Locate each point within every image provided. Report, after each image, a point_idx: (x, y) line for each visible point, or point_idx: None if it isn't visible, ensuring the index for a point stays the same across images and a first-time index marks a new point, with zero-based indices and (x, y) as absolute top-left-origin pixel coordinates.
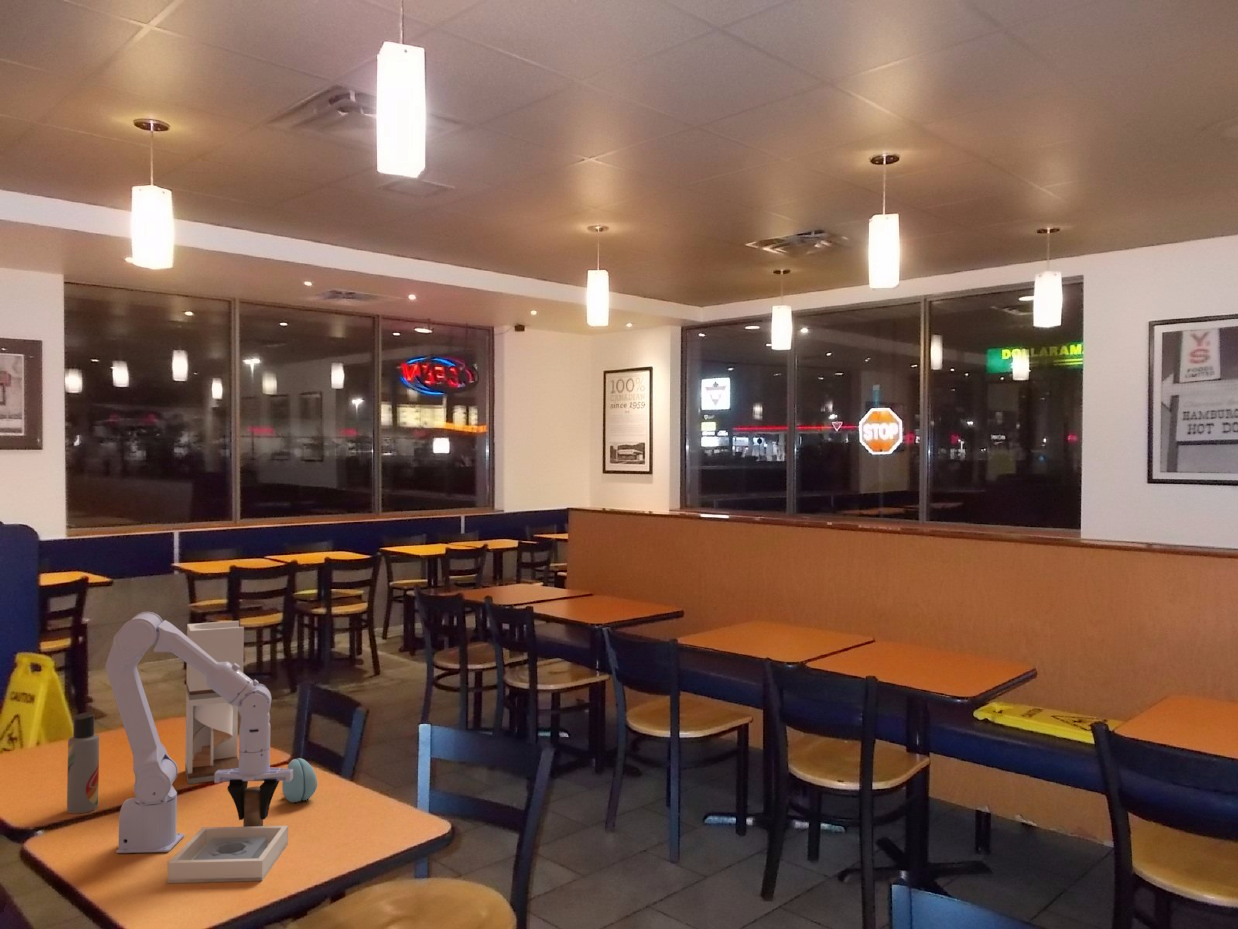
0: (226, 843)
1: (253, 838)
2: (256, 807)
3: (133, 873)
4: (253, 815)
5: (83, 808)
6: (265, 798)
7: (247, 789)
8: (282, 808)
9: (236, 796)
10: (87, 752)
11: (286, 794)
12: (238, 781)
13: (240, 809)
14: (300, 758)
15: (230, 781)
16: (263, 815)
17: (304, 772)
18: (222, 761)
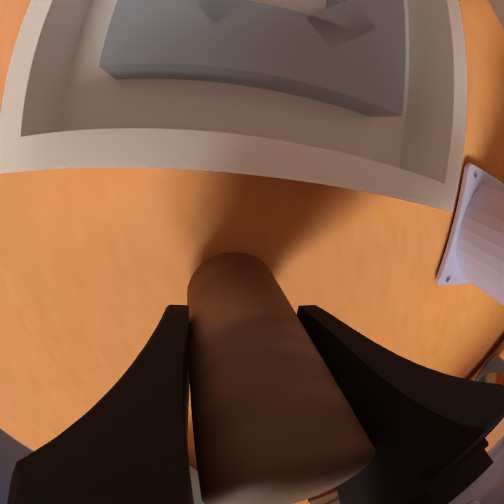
0: (326, 17)
1: (180, 43)
2: (225, 349)
3: (484, 62)
4: (237, 307)
5: (494, 362)
6: (130, 403)
7: (345, 475)
8: (193, 445)
9: (423, 385)
10: None
11: (191, 477)
12: (452, 492)
13: (339, 334)
14: None
15: (488, 461)
16: (170, 315)
17: None
18: (334, 499)
